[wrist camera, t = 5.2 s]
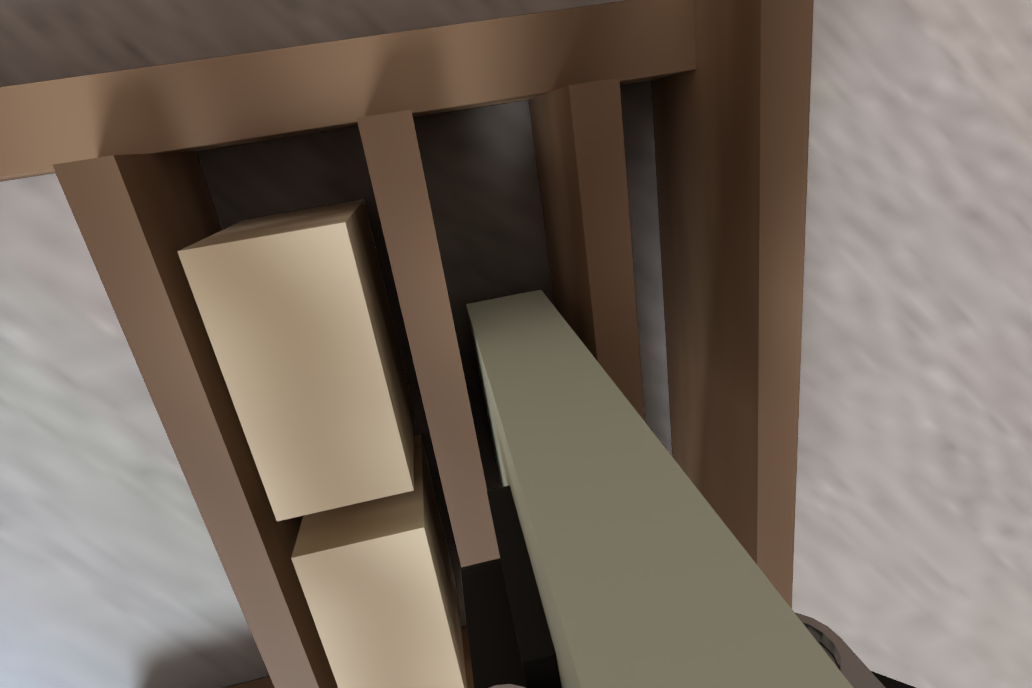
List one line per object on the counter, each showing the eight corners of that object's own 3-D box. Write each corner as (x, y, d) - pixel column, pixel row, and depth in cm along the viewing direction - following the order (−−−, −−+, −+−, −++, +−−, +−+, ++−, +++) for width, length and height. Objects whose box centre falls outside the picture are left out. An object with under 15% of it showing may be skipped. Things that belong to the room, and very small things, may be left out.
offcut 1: (364, 199, 15) (345, 222, 10) (413, 403, 17) (413, 490, 13) (245, 218, 14) (177, 251, 10) (311, 425, 16) (276, 521, 12)
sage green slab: (540, 289, 15) (914, 764, 4) (570, 504, 18) (840, 1151, 6) (465, 304, 15) (630, 850, 4) (507, 519, 17) (675, 1213, 6)
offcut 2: (420, 433, 17) (424, 527, 13) (456, 585, 19) (468, 707, 15) (320, 454, 17) (291, 557, 13) (368, 606, 19) (356, 738, 15)
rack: (685, 10, 14) (815, -52, 10) (705, 596, 21) (787, 722, 17) (-190, 134, 12) (-559, 131, 8) (152, 741, 19) (69, 933, 15)
